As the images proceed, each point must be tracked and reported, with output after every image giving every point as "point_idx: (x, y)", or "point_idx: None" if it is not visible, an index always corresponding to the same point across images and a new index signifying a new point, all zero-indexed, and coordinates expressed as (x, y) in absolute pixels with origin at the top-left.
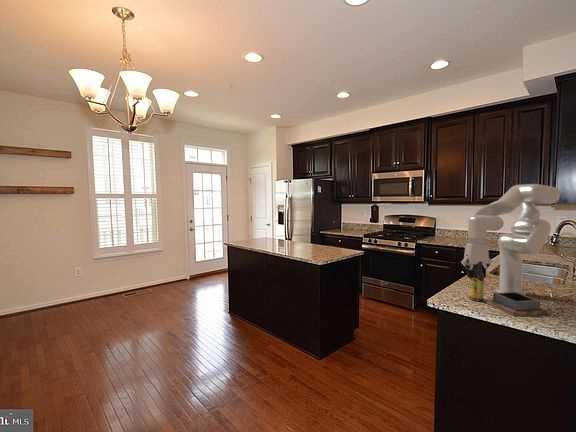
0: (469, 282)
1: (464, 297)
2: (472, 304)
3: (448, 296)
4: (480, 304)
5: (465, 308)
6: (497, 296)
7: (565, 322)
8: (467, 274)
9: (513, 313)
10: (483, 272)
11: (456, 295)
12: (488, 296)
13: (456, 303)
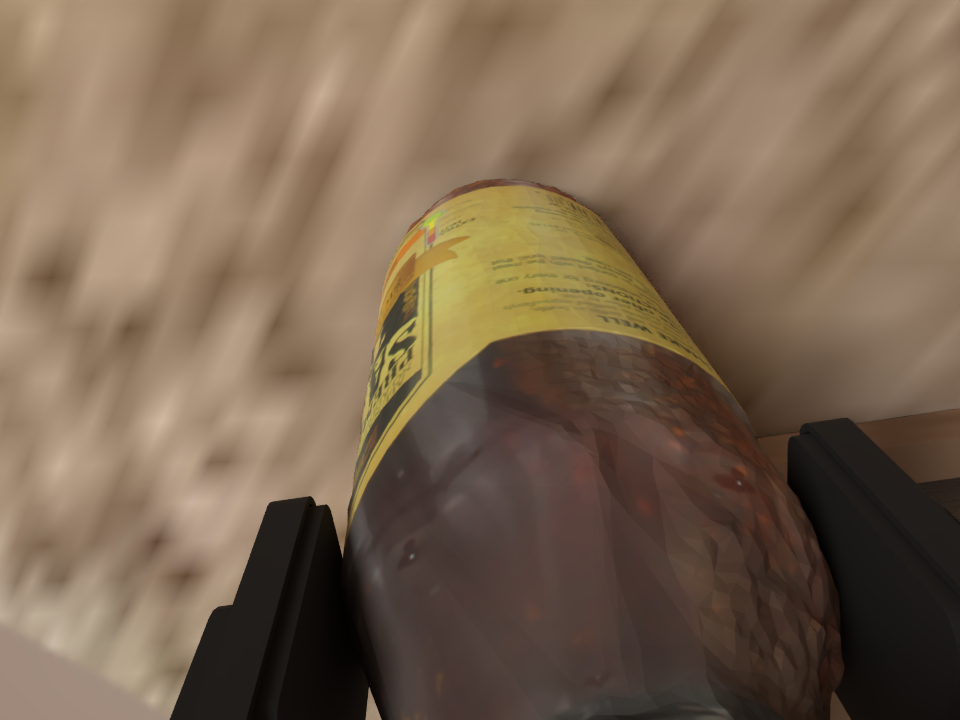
0: (361, 427)
1: (354, 169)
2: None
3: (46, 109)
4: None
5: (140, 649)
6: None
7: None
8: (216, 640)
9: None
10: (865, 704)
11: (243, 38)
12: (867, 102)
13: (77, 474)
